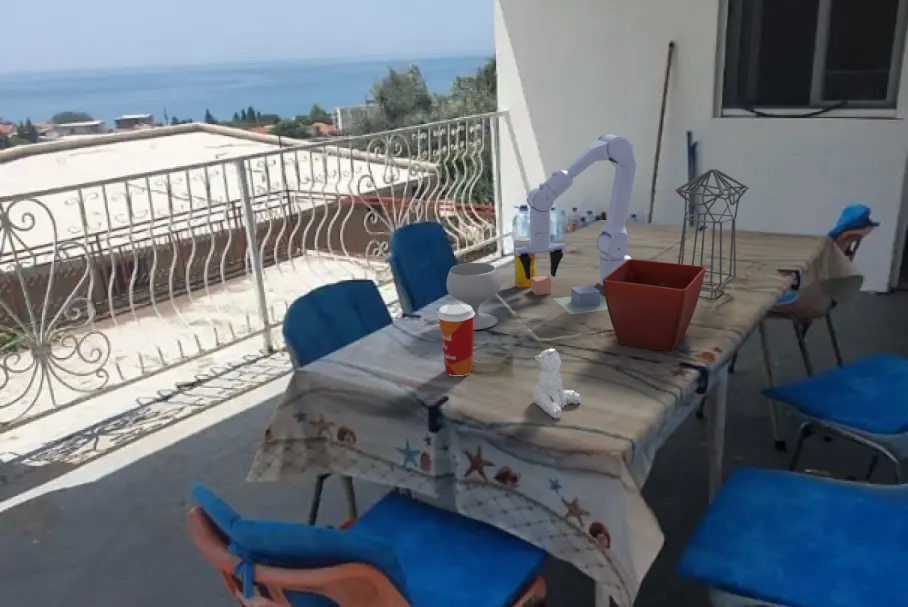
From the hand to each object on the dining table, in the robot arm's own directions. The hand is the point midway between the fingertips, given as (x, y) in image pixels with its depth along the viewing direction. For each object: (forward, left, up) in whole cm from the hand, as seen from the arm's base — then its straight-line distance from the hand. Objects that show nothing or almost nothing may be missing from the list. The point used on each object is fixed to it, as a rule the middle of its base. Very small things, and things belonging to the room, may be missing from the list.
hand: (540, 277), depth 206 cm
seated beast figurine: (+21, +67, -6) cm, 70 cm away
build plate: (-8, +14, -5) cm, 17 cm away
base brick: (-8, +14, -5) cm, 17 cm away
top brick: (0, 0, -5) cm, 5 cm away
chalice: (+24, +16, -6) cm, 29 cm away
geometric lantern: (-44, +15, -6) cm, 47 cm away
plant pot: (-14, +42, -6) cm, 45 cm away
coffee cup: (+35, +45, -6) cm, 57 cm away
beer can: (+2, -9, -6) cm, 11 cm away
